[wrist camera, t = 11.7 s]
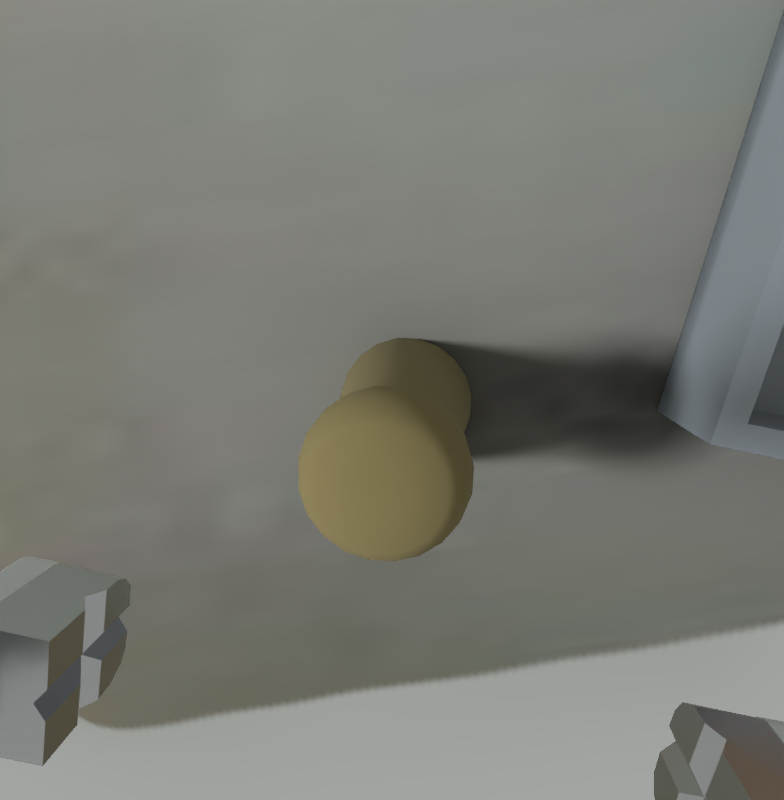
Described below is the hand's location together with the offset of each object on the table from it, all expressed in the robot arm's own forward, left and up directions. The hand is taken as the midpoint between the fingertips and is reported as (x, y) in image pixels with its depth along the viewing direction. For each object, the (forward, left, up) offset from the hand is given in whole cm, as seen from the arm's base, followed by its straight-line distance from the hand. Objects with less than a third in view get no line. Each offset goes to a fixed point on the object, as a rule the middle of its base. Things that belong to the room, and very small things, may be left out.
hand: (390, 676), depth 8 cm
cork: (0, -1, -18) cm, 18 cm away
